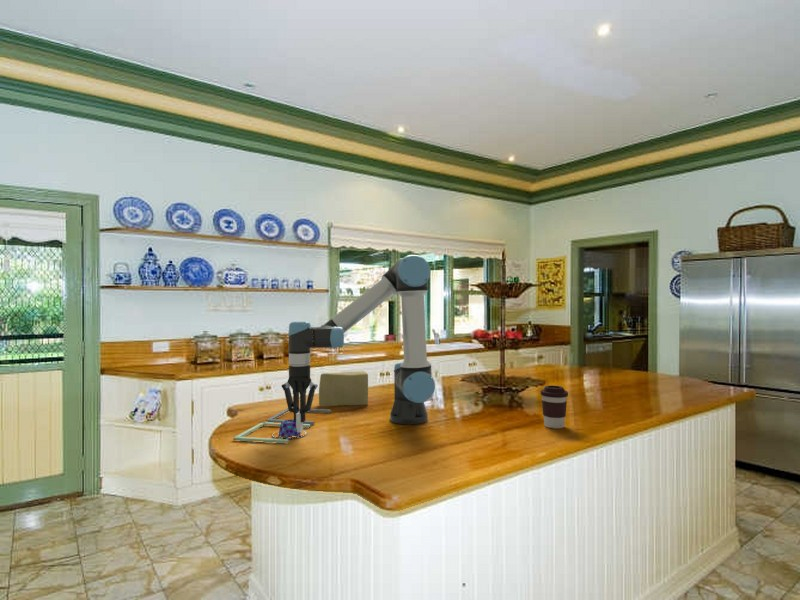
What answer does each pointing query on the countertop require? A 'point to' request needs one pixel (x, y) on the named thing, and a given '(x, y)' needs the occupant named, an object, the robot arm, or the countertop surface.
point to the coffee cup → (554, 406)
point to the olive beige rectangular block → (343, 388)
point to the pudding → (288, 429)
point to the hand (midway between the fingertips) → (299, 430)
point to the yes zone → (242, 438)
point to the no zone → (299, 409)
